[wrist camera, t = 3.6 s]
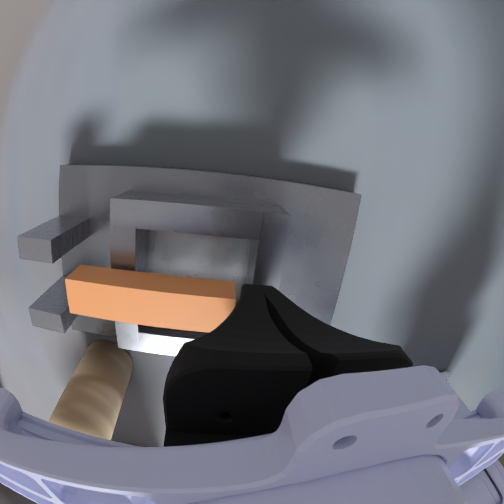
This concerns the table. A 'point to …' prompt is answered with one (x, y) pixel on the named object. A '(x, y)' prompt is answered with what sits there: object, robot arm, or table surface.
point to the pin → (150, 298)
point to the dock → (191, 239)
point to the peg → (95, 391)
